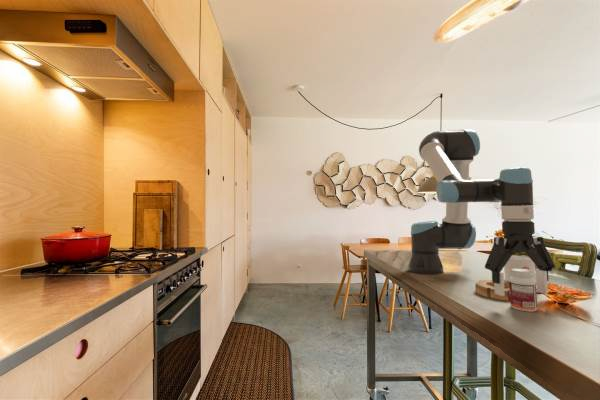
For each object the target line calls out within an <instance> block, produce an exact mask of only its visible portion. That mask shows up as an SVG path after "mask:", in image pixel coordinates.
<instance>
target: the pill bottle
mask: <svg viewBox="0 0 600 400" xmlns="http://www.w3.org/2000/svg"><path fill="white" fill-rule="evenodd" d="M512 275H513V276H512V277H510V278H509V290H510V300H509V304H510V307H511V308H512V309H514V310H517V311H522V312H529V313H531V312H536V311H537V310H538V298H537V297H538V296H537V295H538V294H537V293H536V291H537V286H536V281H535V280H534V279H533V278H531V276H532V271H530V270H526V269H512Z"/></svg>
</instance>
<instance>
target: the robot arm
mask: <svg viewBox="0 0 600 400" xmlns="http://www.w3.org/2000/svg"><path fill="white" fill-rule="evenodd" d="M480 149H481V142H480V138H479V135H478V133H477V131H475V130H473V129H454V130H453V129H452V130H439V131H438V130H437V131H433V132H431V133H428V135H426V136H425V137H424V138H423V139H422V140H421V142H420V143H419V145H418V152H419V153H418V154H419V156H420V158H421V160H423V161H424V162H426V164H427V165H428V167H429V168H430V171H431V172H432V174H433V176H434V177H435V180H436V181H437V184H436V191H435V193H436V198H437V199H438V201H439V202H441V203H446V204H445V205H446V206H445V216H444V217H442V219H441V223H439V222H438V220H428V221H420V222H415V223H413V224H412V225H411V226H410V237H411V238H410V239H411V241H410V243H411V256H410V259H409V261H408V265H407V266H408V267H407V269H408V270H407V271H408V272H412V273H414V274H422V275H441V274H443V273H444V266H443V264H442V261H441V258H440V256H439V250H443V249H445V250H449V249H450V250H452V249H453V250H465V249H471V247H473V246H474V244H475V242H476V238H477V231H476V230H477V229H476V226H475V225H474V224H473V223H472V221H471V219H469V218H468V208H469V207H468V203H499V202H500V203H501V204H500V206H501V219H502V222H501V230H502V233H503V234H504V237H499V236H495V237H494V238H493V245H492V247H491V249H490V250H491V251H490V252H489V255H488V258H486V259H487V260H486V262H485V263H484V268H485V269H486V270H489V271H490V272H491V280H492V281H493V283H494V289H495V294H498V295H501V296H505V292H504V280H505V274H504V272H502V270H504V266H505V265H506V263H507V262H508V260H509V259H510V257H511V256H514V255H515V254H521V253H524V254H526V255H527V257H529V258H530V259H531V260H532V261H533V262H534V264H535V267H536V268H535V278H536V291H537V292H540V293H544V294H545V295H548V294H549V293H548V291H549V290H548V289H549V288H548V282H549V272H552V271H553V269H554V268H555V267H556V265H555V263H554V261H553V259H552V257H551V255H550V253H549V251H548V249H547V248H546V245H545V242H544V241H545V240H544V237H542V236H538V235H537V236H535V233H536V231H535V230H536V229H535V222H534V221H532V220H534V219H535V218H534V216H535V215H534V197H533V196H534V192H533V191H534V188H533V186H534V185H533V177H532V176H533V175H532V170H531V169H530V168H528V167H511V168H509V167H508V168H504V169H501V170H500V171H499V177H498V178H491V179H490V178H489V179H469V177H470V164H471V163H472V162H473V161H474V157H476V156H477V155H479V153H480Z"/></svg>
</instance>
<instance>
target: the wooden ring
mask: <svg viewBox="0 0 600 400" xmlns="http://www.w3.org/2000/svg"><path fill="white" fill-rule="evenodd" d="M474 285H475V293H476V294H478V295H481V296H483V297H486V298H490V299H493V300H494V299H495V300H501V301H507V302H508V301H510V290H509V282H506V281H504V292H505V296H501V295H498V294H495V289H494V283H493V281H492V279H484V280H482V279H481V280H480V279H479V280H476V282H475V284H474Z"/></svg>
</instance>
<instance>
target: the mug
mask: <svg viewBox="0 0 600 400" xmlns="http://www.w3.org/2000/svg"><path fill="white" fill-rule="evenodd" d="M512 269H526V270H530V271H532V276H531V278H533V279H534V280H535V281H536V265H535V264H534V262H533V261H532V260H531V259H530V258H529V256H525V255H512V256H511V257H510V259H509V260H508V262H507V263H506V265H505V266H504V267H503V270H504V271H503V273H504V281H506V282H509V278H510V277H512V276H513V275H512Z"/></svg>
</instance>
